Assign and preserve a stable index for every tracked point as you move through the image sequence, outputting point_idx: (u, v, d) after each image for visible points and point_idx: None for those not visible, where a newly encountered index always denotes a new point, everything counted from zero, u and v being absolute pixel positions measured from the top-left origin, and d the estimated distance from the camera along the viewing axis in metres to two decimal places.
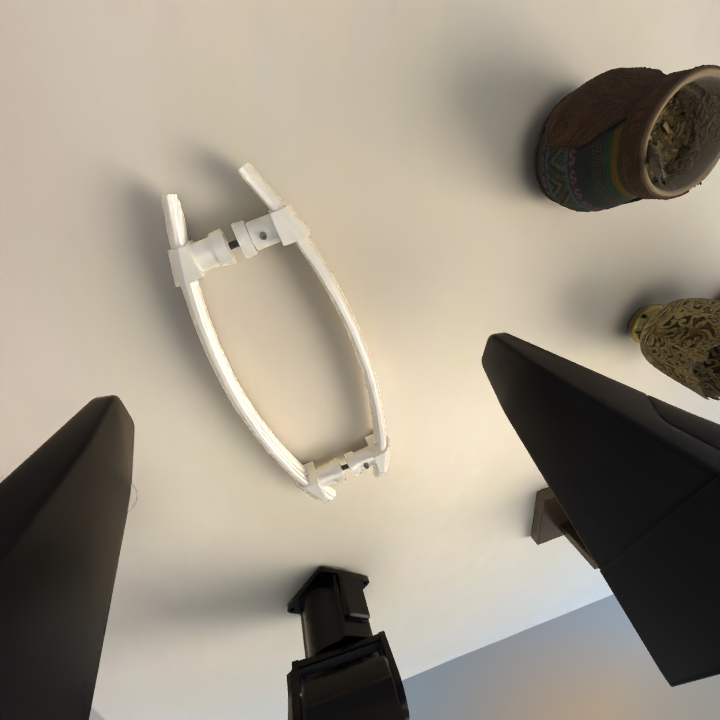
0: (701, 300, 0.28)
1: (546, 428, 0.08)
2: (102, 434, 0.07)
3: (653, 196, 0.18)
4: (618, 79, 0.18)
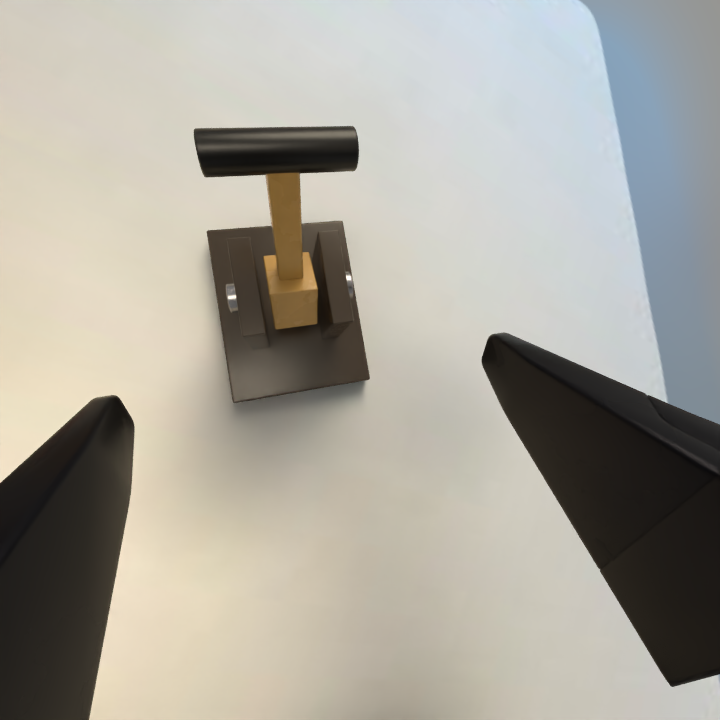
0: None
1: (546, 428, 0.08)
2: (102, 434, 0.07)
3: None
4: None
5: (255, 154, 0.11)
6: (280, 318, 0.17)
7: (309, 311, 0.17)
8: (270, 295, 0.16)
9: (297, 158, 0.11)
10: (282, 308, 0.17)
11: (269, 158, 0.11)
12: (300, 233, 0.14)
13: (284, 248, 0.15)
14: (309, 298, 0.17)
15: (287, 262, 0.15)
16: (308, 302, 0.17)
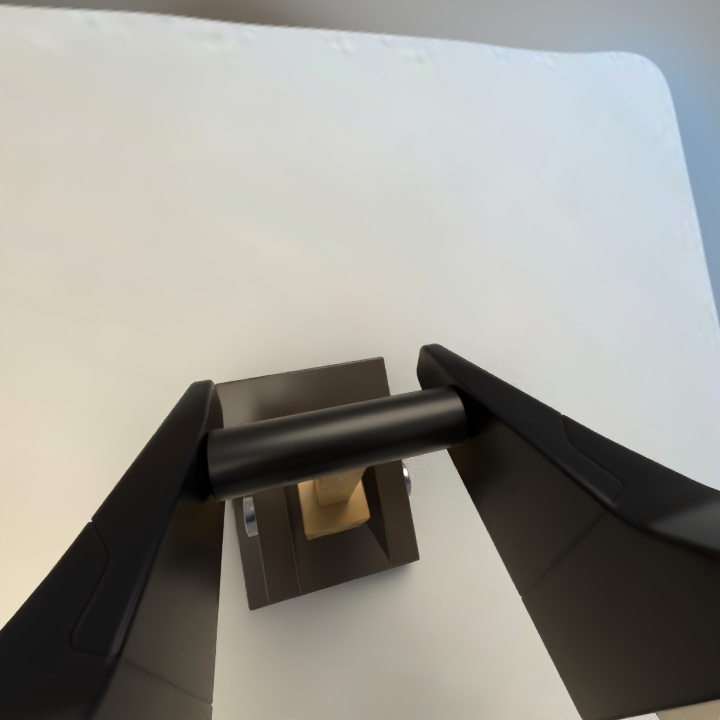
0: None
1: (468, 446, 0.08)
2: (209, 415, 0.07)
3: None
4: None
5: (307, 473, 0.07)
6: (315, 536, 0.13)
7: (354, 525, 0.13)
8: (306, 534, 0.11)
9: (373, 462, 0.07)
10: (320, 533, 0.12)
11: (329, 472, 0.07)
12: (356, 485, 0.10)
13: (330, 496, 0.10)
14: (357, 522, 0.12)
15: (332, 499, 0.11)
16: (355, 524, 0.12)
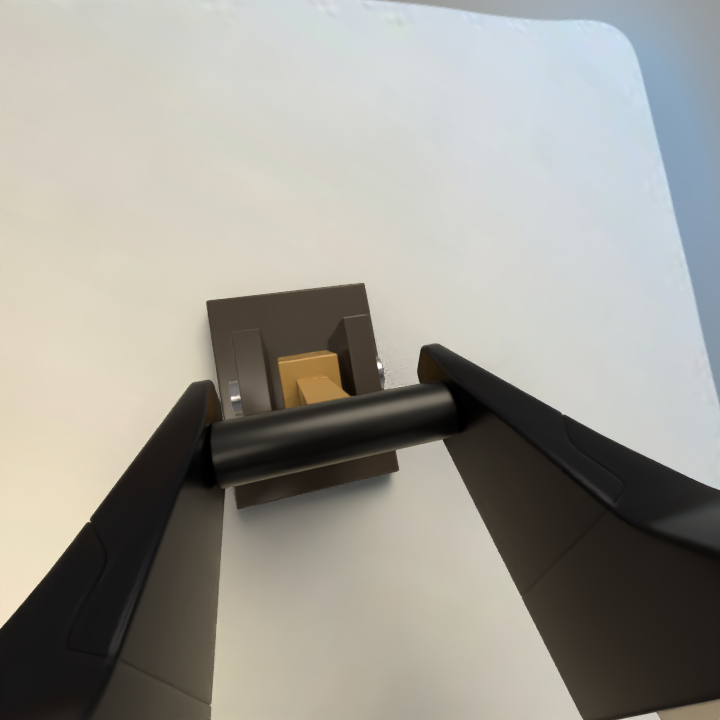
0: None
1: (469, 446, 0.08)
2: (209, 415, 0.07)
3: None
4: None
5: (306, 469, 0.07)
6: None
7: None
8: None
9: None
10: None
11: None
12: None
13: None
14: None
15: None
16: None
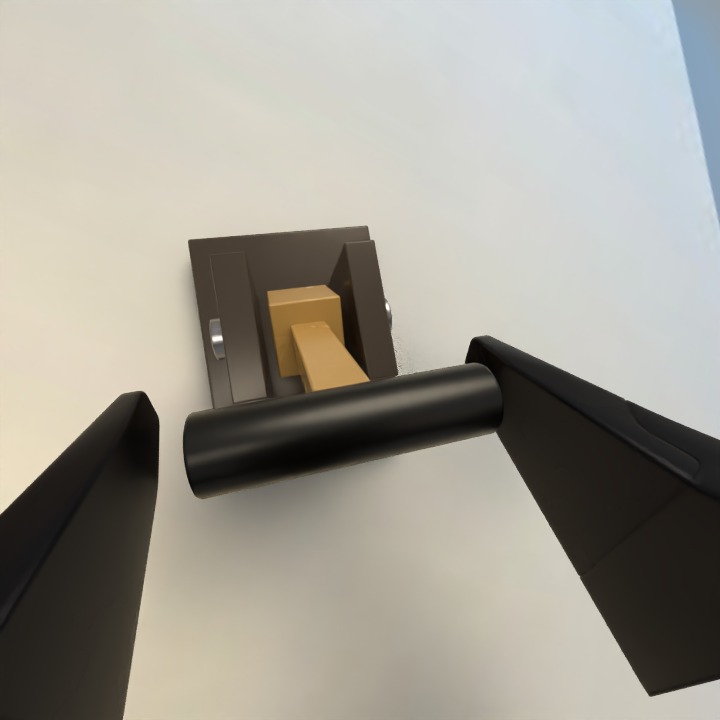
0: None
1: (526, 432, 0.08)
2: (133, 428, 0.07)
3: None
4: None
5: None
6: None
7: None
8: (281, 376, 0.11)
9: None
10: None
11: None
12: None
13: None
14: None
15: None
16: None
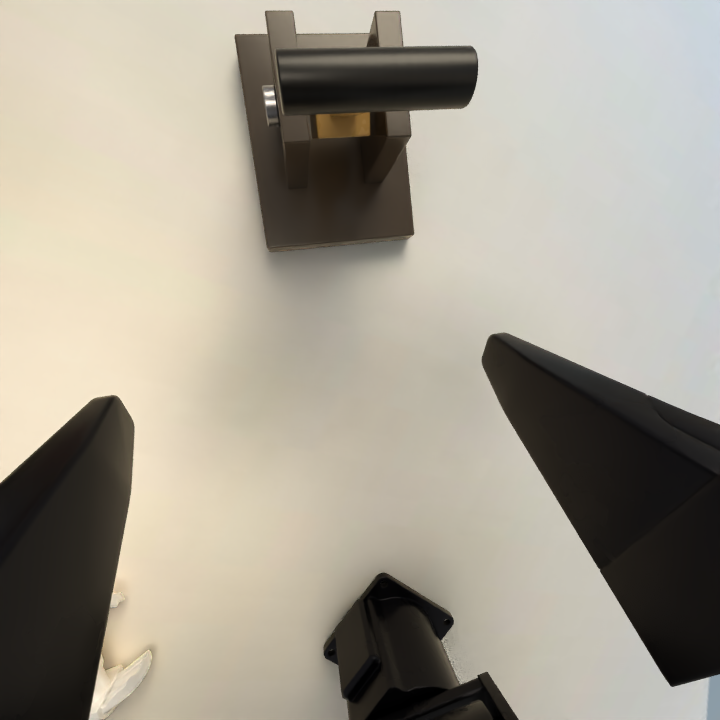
0: None
1: (546, 428, 0.08)
2: (102, 434, 0.07)
3: None
4: None
5: (348, 109, 0.09)
6: None
7: None
8: (318, 137, 0.14)
9: (395, 109, 0.10)
10: None
11: (363, 111, 0.09)
12: None
13: (346, 113, 0.13)
14: None
15: (344, 115, 0.13)
16: None
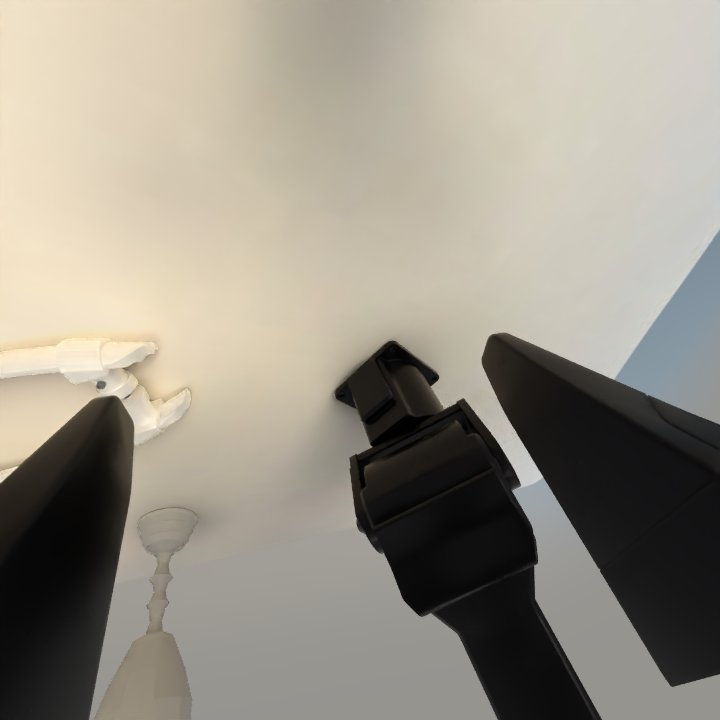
0: None
1: (546, 428, 0.08)
2: (102, 434, 0.07)
3: None
4: None
5: None
6: None
7: None
8: None
9: None
10: None
11: None
12: None
13: None
14: None
15: None
16: None
